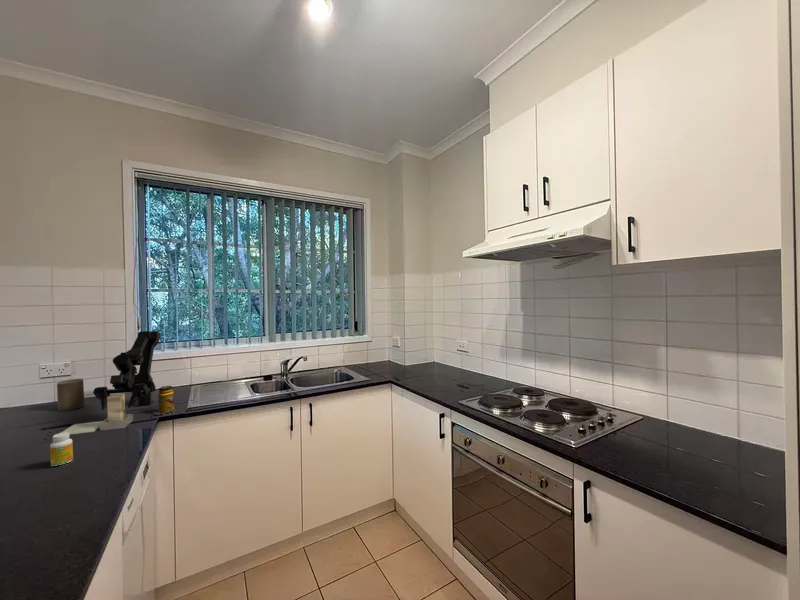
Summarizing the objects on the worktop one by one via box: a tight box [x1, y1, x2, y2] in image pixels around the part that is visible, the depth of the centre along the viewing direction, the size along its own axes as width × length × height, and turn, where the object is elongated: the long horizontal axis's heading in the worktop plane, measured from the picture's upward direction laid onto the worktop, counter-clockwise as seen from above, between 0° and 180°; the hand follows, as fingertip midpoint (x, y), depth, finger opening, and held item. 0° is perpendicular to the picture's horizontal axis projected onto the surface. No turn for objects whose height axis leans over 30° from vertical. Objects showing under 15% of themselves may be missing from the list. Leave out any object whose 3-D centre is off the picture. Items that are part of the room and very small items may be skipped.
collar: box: [99, 413, 134, 431], centre depth 148 cm, size 8×8×3 cm
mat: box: [60, 420, 103, 436], centre depth 145 cm, size 12×12×1 cm
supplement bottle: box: [49, 432, 74, 467], centre depth 115 cm, size 5×5×10 cm
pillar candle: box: [56, 378, 85, 412], centre depth 172 cm, size 10×10×15 cm
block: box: [106, 393, 126, 422], centre depth 148 cm, size 4×4×13 cm
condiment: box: [158, 385, 175, 413], centre depth 164 cm, size 7×8×12 cm
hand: (115, 408), depth 147 cm, fingers open, 9 cm apart
